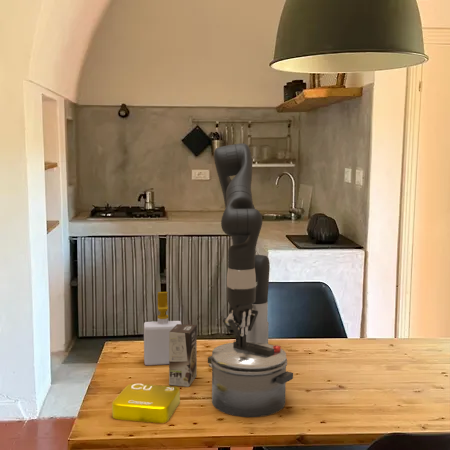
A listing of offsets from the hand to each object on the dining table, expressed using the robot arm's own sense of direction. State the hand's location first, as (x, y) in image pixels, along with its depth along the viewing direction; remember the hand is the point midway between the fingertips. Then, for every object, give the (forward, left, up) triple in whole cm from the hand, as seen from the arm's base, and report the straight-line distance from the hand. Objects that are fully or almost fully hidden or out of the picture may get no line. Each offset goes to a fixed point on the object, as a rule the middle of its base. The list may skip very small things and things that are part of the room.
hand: (240, 348), depth 160 cm
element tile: (+17, -18, -17) cm, 30 cm away
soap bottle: (-12, -40, -16) cm, 45 cm away
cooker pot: (-4, 0, -16) cm, 16 cm away
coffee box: (-4, -24, -16) cm, 29 cm away
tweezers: (-15, -18, -17) cm, 29 cm away
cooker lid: (-4, 0, -3) cm, 5 cm away
